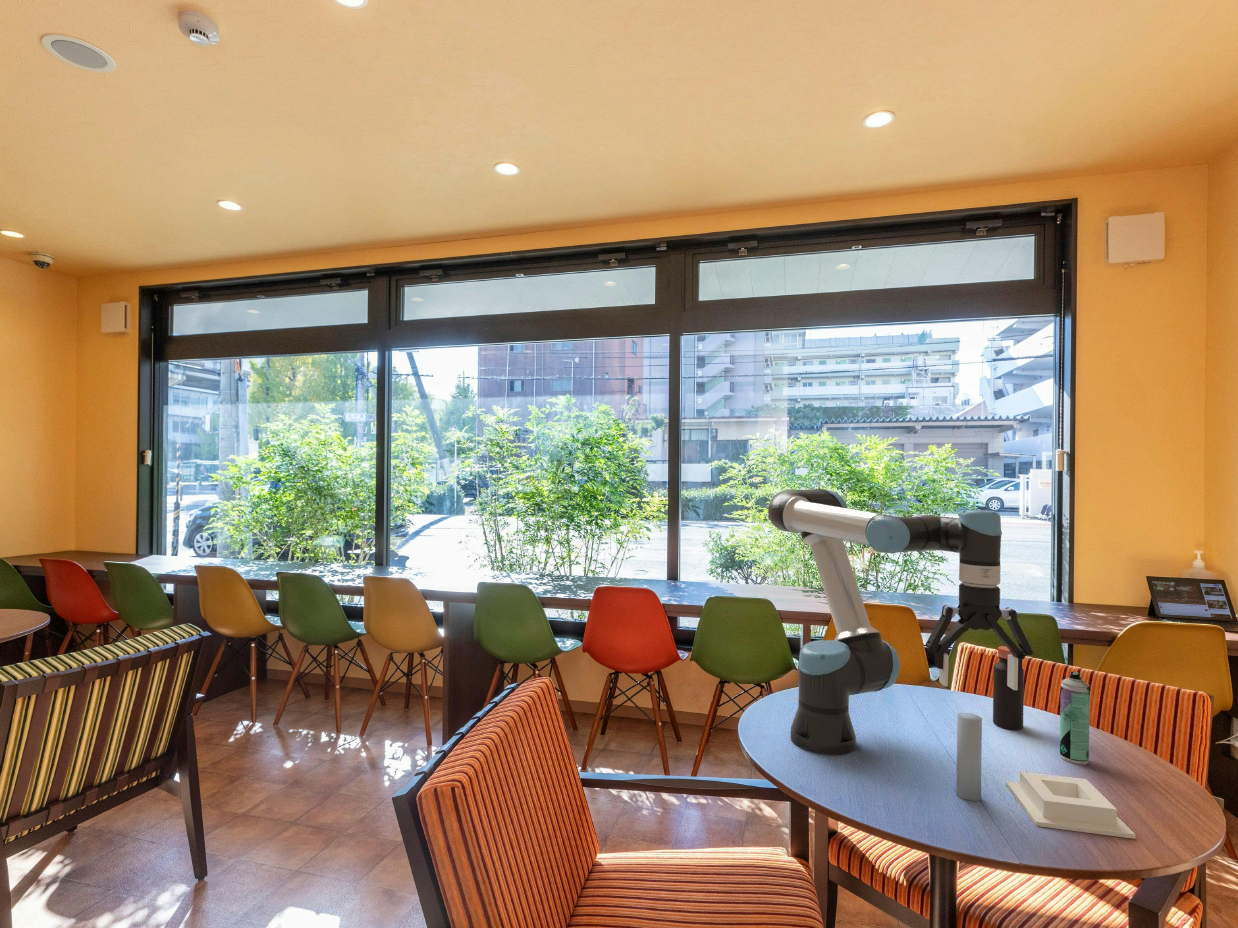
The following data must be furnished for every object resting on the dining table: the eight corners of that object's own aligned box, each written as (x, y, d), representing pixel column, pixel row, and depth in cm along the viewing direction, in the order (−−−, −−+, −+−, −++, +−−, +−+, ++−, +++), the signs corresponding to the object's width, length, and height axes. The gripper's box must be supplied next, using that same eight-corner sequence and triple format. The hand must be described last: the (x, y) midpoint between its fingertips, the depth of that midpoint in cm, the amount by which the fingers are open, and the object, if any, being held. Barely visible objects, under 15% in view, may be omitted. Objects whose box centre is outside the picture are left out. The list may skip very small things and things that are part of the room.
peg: (959, 799, 129) (960, 719, 129) (953, 788, 133) (954, 711, 133) (983, 802, 128) (984, 722, 128) (977, 791, 132) (978, 713, 132)
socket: (1035, 825, 119) (1036, 804, 119) (1005, 784, 135) (1005, 765, 135) (1135, 838, 116) (1135, 816, 116) (1092, 795, 131) (1092, 775, 131)
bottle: (1023, 723, 168) (1024, 647, 168) (1023, 732, 162) (1024, 653, 163) (993, 717, 172) (994, 643, 172) (992, 726, 166) (993, 649, 166)
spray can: (1083, 755, 150) (1085, 670, 150) (1092, 766, 144) (1093, 677, 144) (1056, 752, 151) (1057, 667, 151) (1064, 762, 146) (1065, 674, 146)
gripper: (923, 585, 131) (921, 688, 131) (1053, 589, 128) (1051, 695, 128) (910, 578, 139) (909, 676, 138) (1033, 583, 136) (1031, 683, 136)
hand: (977, 686), depth 133 cm, fingers open, 13 cm apart
